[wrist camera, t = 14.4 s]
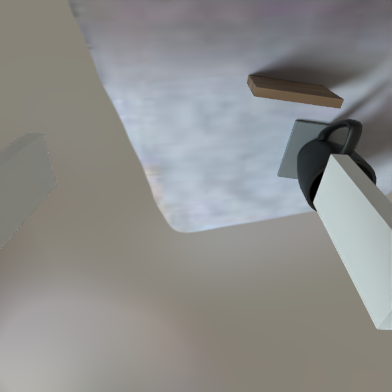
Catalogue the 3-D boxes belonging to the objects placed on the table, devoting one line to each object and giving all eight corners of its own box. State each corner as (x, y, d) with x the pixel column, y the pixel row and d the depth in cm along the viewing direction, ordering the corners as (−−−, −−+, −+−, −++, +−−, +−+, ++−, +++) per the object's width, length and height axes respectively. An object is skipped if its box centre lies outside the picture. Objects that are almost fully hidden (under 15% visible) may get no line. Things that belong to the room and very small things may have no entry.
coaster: (295, 120, 39) (296, 121, 39) (356, 128, 40) (358, 130, 39) (277, 174, 44) (278, 176, 44) (331, 181, 45) (333, 183, 44)
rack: (292, -126, 26) (315, -165, 20) (393, -109, 27) (444, -142, 21) (246, 82, 37) (254, 96, 31) (319, 93, 37) (340, 108, 31)
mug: (362, 103, 37) (403, 128, 29) (334, 180, 44) (362, 217, 36) (301, 101, 37) (325, 125, 29) (282, 178, 44) (299, 214, 36)
